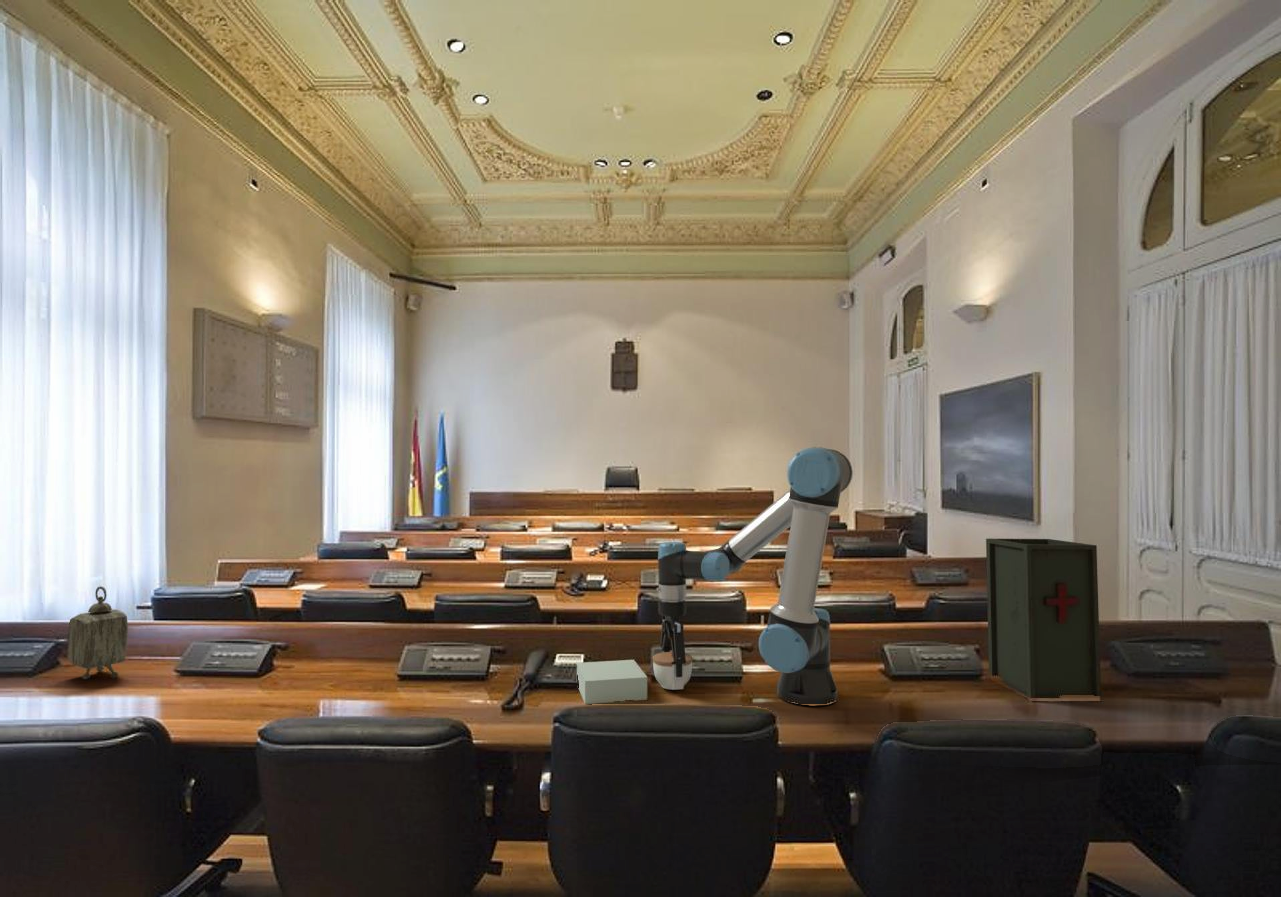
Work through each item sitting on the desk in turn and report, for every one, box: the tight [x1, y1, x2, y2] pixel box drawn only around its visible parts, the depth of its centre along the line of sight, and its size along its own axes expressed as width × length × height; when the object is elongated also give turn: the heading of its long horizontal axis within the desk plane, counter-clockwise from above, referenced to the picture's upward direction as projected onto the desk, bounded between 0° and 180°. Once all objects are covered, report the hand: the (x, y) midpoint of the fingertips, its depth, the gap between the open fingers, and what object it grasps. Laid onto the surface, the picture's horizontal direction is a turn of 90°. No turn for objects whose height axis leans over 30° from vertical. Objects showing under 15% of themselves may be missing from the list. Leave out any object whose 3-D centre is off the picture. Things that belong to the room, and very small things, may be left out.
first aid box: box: [985, 538, 1102, 698], centre depth 171 cm, size 18×18×40 cm
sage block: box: [576, 659, 648, 705], centre depth 166 cm, size 16×16×6 cm
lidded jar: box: [652, 650, 693, 691], centre depth 169 cm, size 11×11×9 cm
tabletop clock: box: [67, 585, 128, 680], centre depth 175 cm, size 14×9×25 cm, turn 58°
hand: (672, 682), depth 169 cm, fingers closed on lidded jar, 11 cm apart
